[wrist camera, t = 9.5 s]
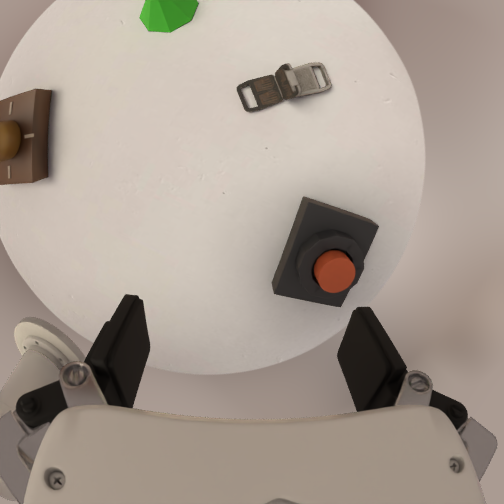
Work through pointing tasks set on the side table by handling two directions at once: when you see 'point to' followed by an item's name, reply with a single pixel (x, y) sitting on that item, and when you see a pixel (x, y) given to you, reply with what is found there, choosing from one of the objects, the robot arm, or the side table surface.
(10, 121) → the knob
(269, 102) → the strap clip
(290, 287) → the button box
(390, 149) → the side table surface
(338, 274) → the button
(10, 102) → the panel
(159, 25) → the gemstone
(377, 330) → the robot arm
